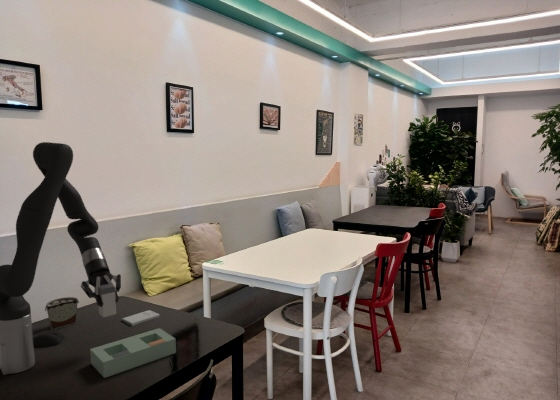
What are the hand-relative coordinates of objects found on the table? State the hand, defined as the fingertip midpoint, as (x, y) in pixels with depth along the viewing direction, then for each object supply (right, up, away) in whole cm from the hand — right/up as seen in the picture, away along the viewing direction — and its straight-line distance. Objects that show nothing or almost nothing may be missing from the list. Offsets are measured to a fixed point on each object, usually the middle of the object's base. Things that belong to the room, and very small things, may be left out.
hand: (109, 303), depth 148 cm
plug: (-1, -4, +2) cm, 5 cm away
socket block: (+11, -17, -6) cm, 21 cm away
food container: (-28, -14, +23) cm, 39 cm away
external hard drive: (+2, -14, +28) cm, 31 cm away
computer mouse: (-26, -16, +7) cm, 31 cm away
